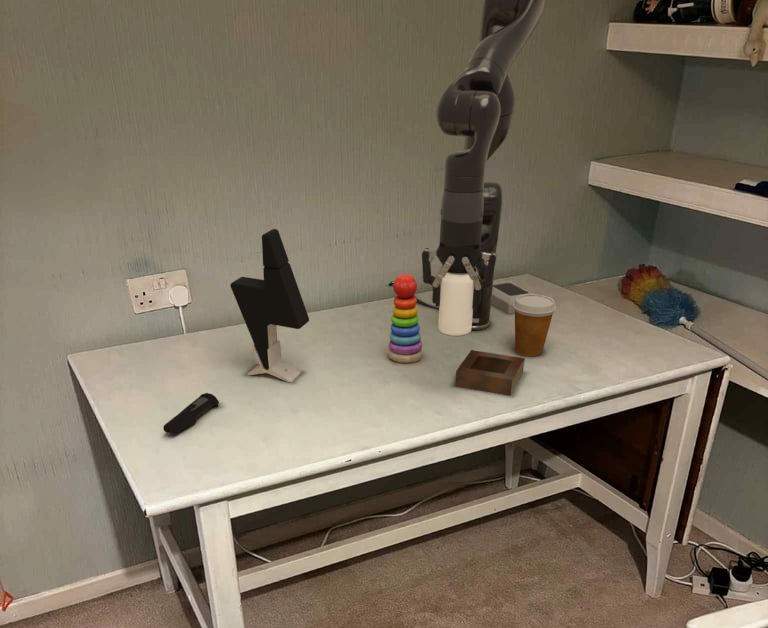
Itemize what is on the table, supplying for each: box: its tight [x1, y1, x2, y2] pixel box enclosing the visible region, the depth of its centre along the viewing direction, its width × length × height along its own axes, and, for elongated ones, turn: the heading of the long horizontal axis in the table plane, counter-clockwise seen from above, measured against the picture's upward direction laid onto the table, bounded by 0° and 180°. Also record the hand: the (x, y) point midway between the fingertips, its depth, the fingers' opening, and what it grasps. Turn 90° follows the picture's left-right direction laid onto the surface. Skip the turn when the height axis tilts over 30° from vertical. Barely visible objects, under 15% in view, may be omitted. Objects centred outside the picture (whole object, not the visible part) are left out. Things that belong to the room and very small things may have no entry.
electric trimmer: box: [162, 392, 220, 435], centre depth 148 cm, size 4×16×3 cm, turn 158°
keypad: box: [491, 280, 534, 315], centre depth 205 cm, size 10×4×15 cm
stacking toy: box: [387, 273, 424, 364], centre depth 170 cm, size 8×8×19 cm
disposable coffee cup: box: [513, 293, 557, 357], centre depth 175 cm, size 10×10×12 cm
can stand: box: [454, 349, 526, 396], centre depth 165 cm, size 12×12×4 cm
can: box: [437, 271, 475, 337], centre depth 147 cm, size 6×6×12 cm
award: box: [230, 228, 310, 383], centre depth 158 cm, size 15×5×30 cm, turn 71°
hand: (455, 306), depth 148 cm, fingers closed on can, 6 cm apart
